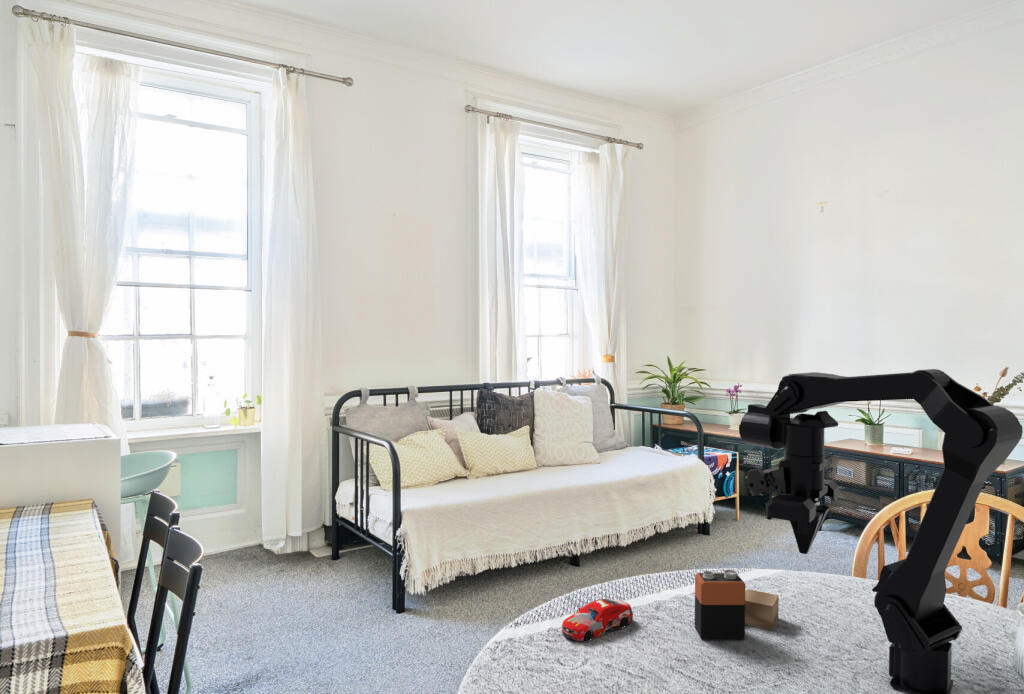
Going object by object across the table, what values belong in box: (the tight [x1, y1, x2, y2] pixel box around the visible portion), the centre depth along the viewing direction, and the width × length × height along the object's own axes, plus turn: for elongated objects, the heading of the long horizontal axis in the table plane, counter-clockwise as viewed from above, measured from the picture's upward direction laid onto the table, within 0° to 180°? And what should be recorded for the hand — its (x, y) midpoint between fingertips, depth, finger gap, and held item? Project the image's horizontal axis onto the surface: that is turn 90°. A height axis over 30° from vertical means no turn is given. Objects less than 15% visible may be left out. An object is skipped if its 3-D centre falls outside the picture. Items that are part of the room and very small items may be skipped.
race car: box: [561, 598, 634, 643], centre depth 109 cm, size 13×5×4 cm, turn 126°
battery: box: [694, 569, 746, 641], centre depth 107 cm, size 4×7×10 cm, turn 89°
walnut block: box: [745, 588, 780, 631], centre depth 112 cm, size 5×5×4 cm
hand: (803, 553), depth 107 cm, fingers closed
